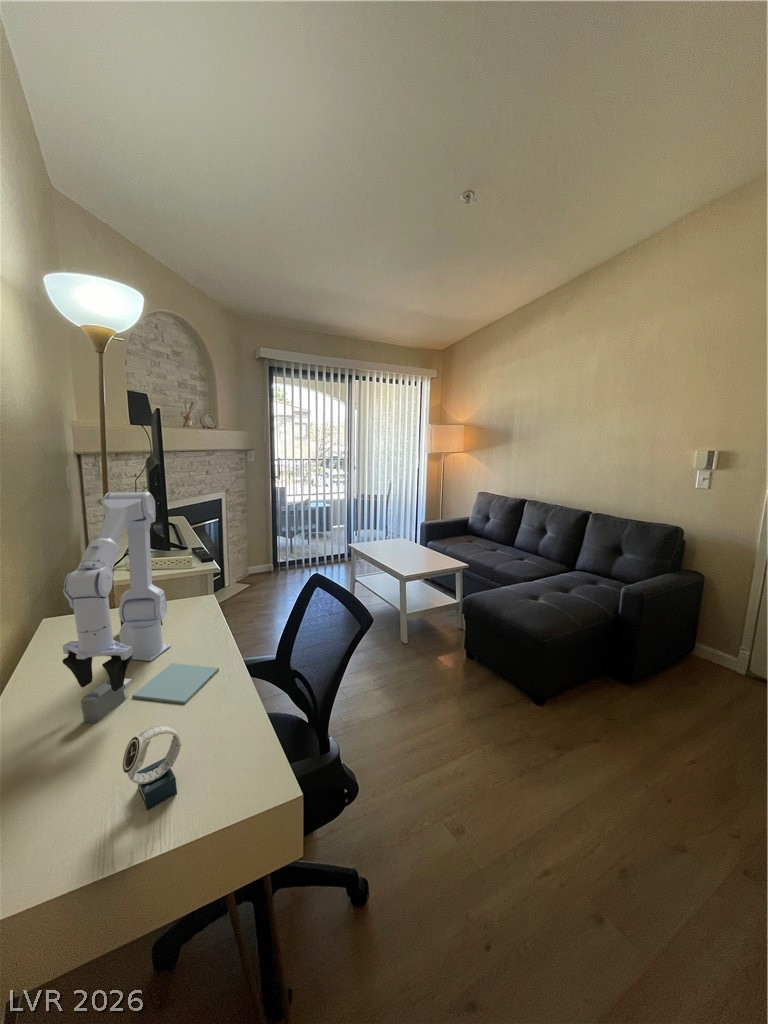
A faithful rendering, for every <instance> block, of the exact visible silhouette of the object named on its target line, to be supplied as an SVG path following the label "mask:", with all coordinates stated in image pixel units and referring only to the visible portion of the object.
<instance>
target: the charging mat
mask: <svg viewBox="0 0 768 1024" xmlns="http://www.w3.org/2000/svg"><path fill="white" fill-rule="evenodd" d="M219 671H220V668H219V667H214V666H213V667H212V666H202V665H192V664H183V663H173V662H171V663H170V664H169V665H168V666H166V667H165V668H164V669H163V670H162V671H160V672H159V673H157V674H156V675H155V676H154V677H153V678H151V680H149V681H148V682H147V683H145V684H144V685H143V686H141V688H139V689H138V690H137V691H136V692H134V693H133V694H132V698H135V699H143V700H150V701H157V702H158V701H159V702H167V703H175V704H182V705H183V704H184V705H185V704H187V703H188V701H189V702H190V700H191V699H192V698H193V697H194V696H195V695H196V694H197V693H198V692H199V691H200V690H201V689H202V688H203V687H204V686H205V685H206V684H207V683H208V682H209V680H211V679H213V676H215V675H216V674H217V673H218V672H219Z"/></svg>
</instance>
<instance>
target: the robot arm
mask: <svg viewBox="0 0 768 1024" xmlns="http://www.w3.org/2000/svg"><path fill="white" fill-rule="evenodd" d="M101 501H102V502H101V507H102V512H103V515H104V519H103V522H102V524H101V527H100V528H101V529H100V530H99V531H100V532H99V534H98V537H97V539H94V540H92V541H90V542H89V543H88V545H87V547H86V549H85V551H84V554H83V556H82V558H81V560H80V563H79V564H78V566H77V569H75V570H73V571H72V572H70V573H68V574H67V576H66V577H65V579H64V583H63V589H62V591H63V595H64V597H65V598H66V599H67V600H68V602H69V607H70V608H71V609H73V614H74V620H75V626H76V627H75V628H76V636H77V640H70V641H67V642H66V643H64V644H62V653H63V655H67V656H66V657H64V658H63V659H62V664H63V665H64V666H66V667H67V668H68V669H69V670H70V671H71V673H72V674H73V676H74V678H75V679H76V681H77V682H78V685H79V686H80V688H85V687H86V686H88V685H89V684H91V683H92V682H93V665H92V664H93V657H110V659H108V660H107V661H105V662H103V663H102V667H103V669H104V670H105V671H106V673H107V675H108V678H109V679H110V684H111V688H112V690H113V691H117V690H118V689H120V688H121V687H122V686H123V684H124V678H126V673H127V669H128V668H129V667H128V666H129V664H130V662H131V660H136V661H147V662H151V661H154V659H155V658H157V657H158V656H159V655H162V653H164V652H165V651H166V650H167V649H169V648H170V647H171V646H172V644H170V643H164V641H163V632H162V631H163V630H162V629H163V628H162V626H161V620H162V621H163V619H164V618H165V617H166V615H167V610H168V609H167V607H168V604H167V600H166V595H165V591H164V590H163V589H162V588H160V587H158V586H156V585H155V584H153V579H152V578H153V574H152V573H153V572H152V557H151V555H152V553H151V534H150V529H151V527H150V525H151V524H152V523H155V522H156V516H157V513H156V500H155V499H154V496H153V495H152V493H151V492H149V491H144V492H143V491H142V492H140V491H139V492H131V491H130V492H111V491H109V492H107V493H105V494H104V496H103V498H102V500H101ZM125 529H127V545H128V566H129V581H130V582H129V585H130V588H129V589H127V590H126V591H124V593H123V594H121V595H122V596H121V598H120V607H119V606H118V607H119V608H118V617H119V620H120V619H121V621H122V622H123V623H124V624H123V625H122V627H121V626H120V629H119V635H118V636H119V641H117V640H114V634H113V625H112V618H111V610H110V602H109V594H110V592H112V591H111V590H112V588H113V581H114V580H113V578H114V571H113V569H114V566H115V563H116V561H117V558H118V556H119V553H120V546H119V545H118V542H119V540H120V538H121V536H122V534H123V533H124V531H125ZM109 679H108V680H109Z"/></svg>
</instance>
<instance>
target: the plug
mask: <svg viewBox="0 0 768 1024" xmlns="http://www.w3.org/2000/svg"><path fill="white" fill-rule="evenodd" d="M133 684H134V683H133V679H132V678H126V677H125V678H124V684H123V686H122V687H121V688H120V689H118V690H117V691H113V690H112V688H111V684H110V679H107V680H106V681H105V682H103V683H102V684H100V685H99V686H98V687H96V688H95V689H93V690H92V691H90V692H89V693H87V694H85V696H83V697H82V698H81V700H80V703H81V704H80V705H81V710H82V717H83V724H84V723H85V725H86V724H91V725H94V724H96V723H98V722H99V720H100V721H101V720H102V719H103V718H105V717H106V716H107V715H108V714H109V712H110V713H111V712H112V711H113V710H115V709H116V708H117V707H119V705H120V704H122V703H124V701H125V700H126V693H125V690H127V689H128V688H129V687H131V686H132V685H133ZM104 716H105V717H104ZM93 723H94V724H93Z"/></svg>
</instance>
